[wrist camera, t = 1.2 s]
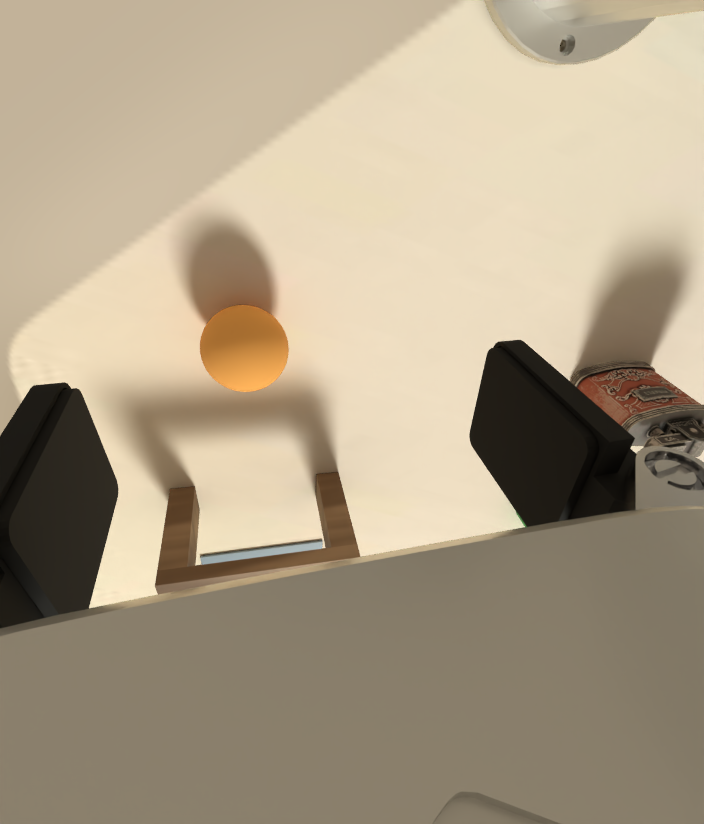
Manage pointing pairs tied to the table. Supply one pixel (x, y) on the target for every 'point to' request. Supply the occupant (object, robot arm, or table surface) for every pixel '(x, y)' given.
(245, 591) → the robot arm
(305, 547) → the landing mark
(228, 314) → the ball
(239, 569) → the bridge
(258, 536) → the table surface
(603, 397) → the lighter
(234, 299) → the table surface
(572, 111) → the table surface
